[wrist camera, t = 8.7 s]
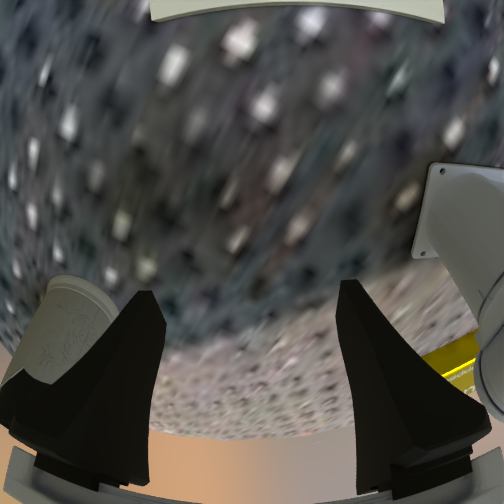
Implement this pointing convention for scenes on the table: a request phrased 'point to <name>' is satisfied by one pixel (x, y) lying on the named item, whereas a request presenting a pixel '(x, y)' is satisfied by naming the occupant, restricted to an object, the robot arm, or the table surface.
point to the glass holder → (55, 339)
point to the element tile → (456, 362)
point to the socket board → (399, 3)
